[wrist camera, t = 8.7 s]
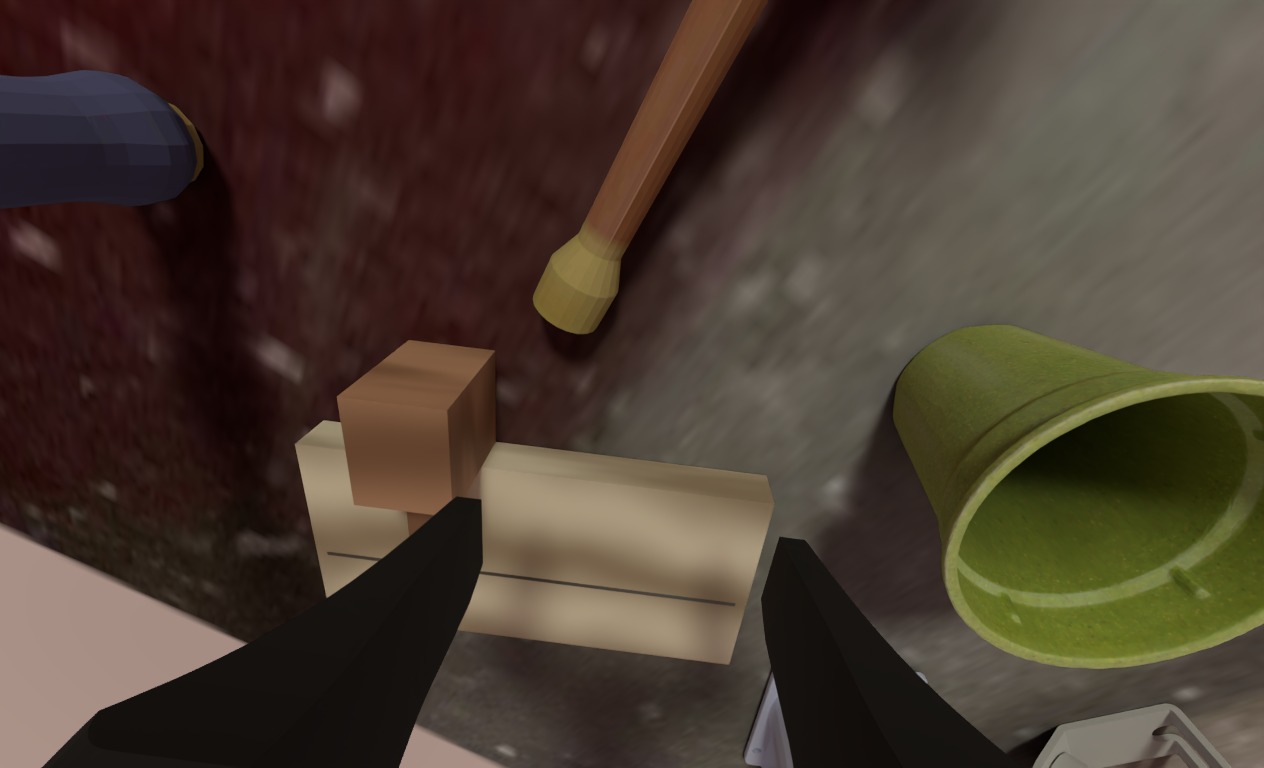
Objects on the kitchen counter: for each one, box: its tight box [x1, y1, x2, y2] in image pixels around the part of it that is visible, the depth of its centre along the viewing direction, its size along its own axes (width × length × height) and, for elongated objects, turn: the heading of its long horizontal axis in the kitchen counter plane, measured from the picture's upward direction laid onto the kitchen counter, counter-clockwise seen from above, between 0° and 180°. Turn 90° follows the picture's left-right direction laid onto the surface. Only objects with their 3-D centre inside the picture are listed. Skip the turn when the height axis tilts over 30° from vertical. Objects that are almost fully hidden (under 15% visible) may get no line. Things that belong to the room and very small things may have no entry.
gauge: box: [337, 340, 496, 536], centre depth 22 cm, size 11×4×5 cm, turn 174°
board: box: [295, 420, 775, 665], centre depth 24 cm, size 10×20×2 cm, turn 84°
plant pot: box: [893, 325, 1264, 669], centre depth 17 cm, size 9×9×9 cm
